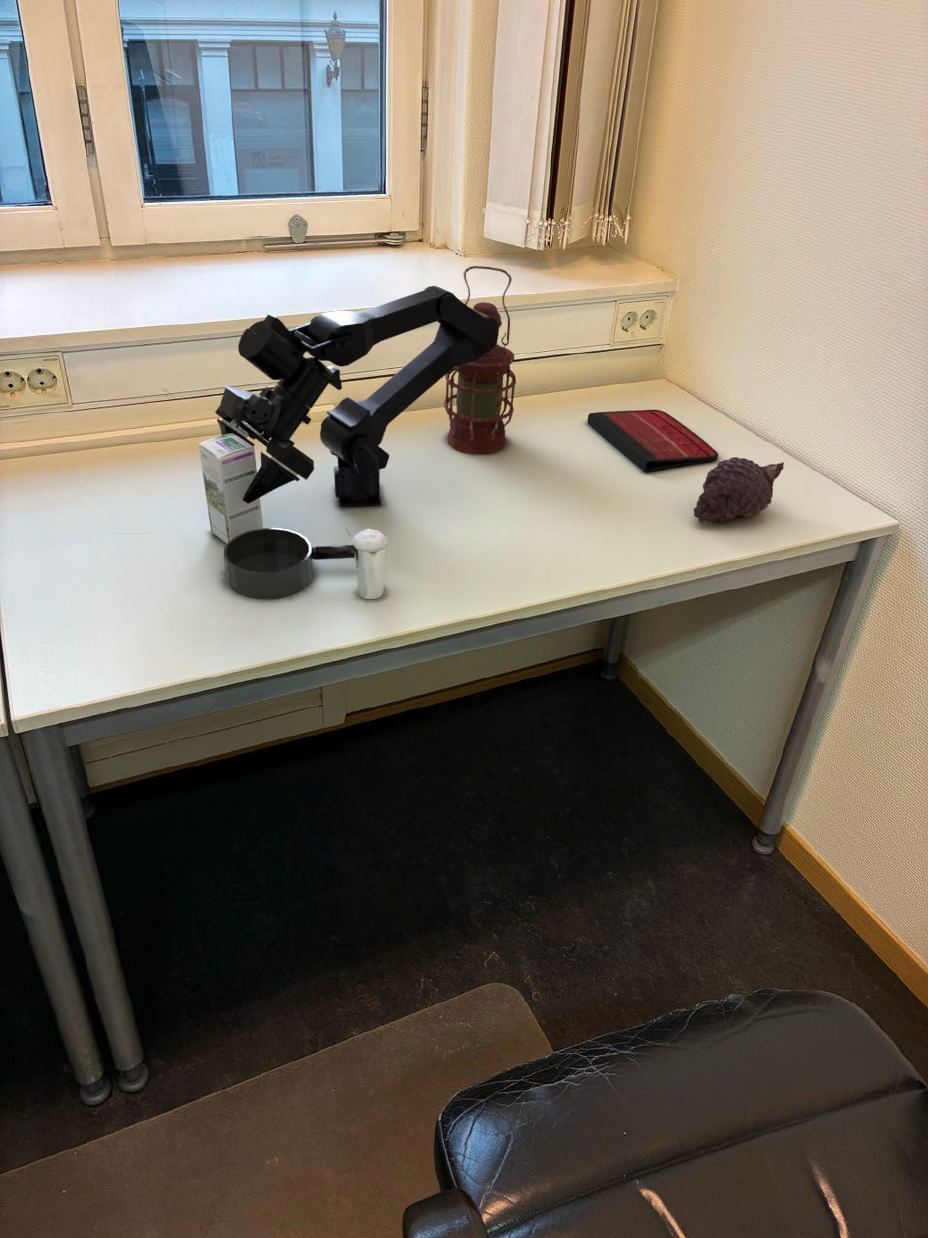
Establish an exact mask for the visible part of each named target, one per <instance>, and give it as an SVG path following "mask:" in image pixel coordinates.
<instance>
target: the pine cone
mask: <svg viewBox="0 0 928 1238" xmlns="http://www.w3.org/2000/svg"><path fill="white" fill-rule="evenodd" d="M784 466H785V463H784V461H782V462H779V463H770V464H767V465H764V466H760V465H759V464H758V463H756V462H754V460H752V459H747V458H745V457H743V458H741V457H737V456H735V457H734V456H733V457H730V458H729V459H723V460H722V461H718V463H717V464H716V466H715V467H714V468H713V469H711V470H709V471H707V473H706V477H705V481H704V482H703V484H702V490H703V492H702V493H701V494H699V496H698V500H697V501H696V506H695V507H694V508H693V516H694V518H697V519H698V522H699V523H703V522H706V523H715V522H717V521H719V522H725V521H727V520H732V519H735V518H736V517H737V516H740V515H741V516H743V518H746V519H749V518H750V517H751V516H757V515H759V514H760V513H761V512H762V511H763V510H766V509H767V508H768V507H769V505H770V504H772V502H773V501H772V499H773V494H774V483H775V480H776V479H778V478H779V477H780V475H781V472H782V471H783V470H784Z"/></svg>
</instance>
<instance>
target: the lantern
mask: <svg viewBox="0 0 928 1238" xmlns="http://www.w3.org/2000/svg"><path fill="white" fill-rule="evenodd" d="M473 269H474V270H475V269H480V270H491V271H496V272H501V273H503V274H505V275H506V276H507V277H508V283H507V285H506V288H505V290H504V292H503V294H502V298H501V302H502V307H503V308H504V312H505V314H506V317H507V328H506V329H507V330H506V332H504V335H503V336H502V338H501V339H500V342H501V345H500V344H498V343H497V344H496V346H495V347H494V348H493V349H492V351H490V352H489V353H487V354H486V355H484V356H483V357H481V358H479V359H478V360H476V361H474V362H470V363H466V364H463V365H459V366H456V367H454V368H453V369H452V370H450V371H449V372H448V373H447V374H446V375H445V376H444V379H445V381H446V382H445V383H446V386H445V399H444V401H443V407H444V409H445V412H446V414H447V415H448V419H449V426H450V427H449V431H448V434H447V437H446V440H447V443H448V444H449V446H450V447H452V448H453V449H456V450H457V451H459V452H462V453H465V454H474V455H475V454H476V455H488V454H493V453H497V452H498V451H501V450H503V449H504V448H505V446H506V444H507V439H506V427H507V426H508V424H509V423H510V422H511V420H512V419H513V415H514V412H515V409H514V395H515V394H514V393H515V388H516V384H517V379H516V375H515V373H514V371H513V370H511V365H512V364H513V362H514V361H515V353H514V352H513V351H511V349H508V348H506V346H508V345H509V344H510V343H509V342H510V334H511V333H510V331H511V317H510V314H509V312H508V310H507V307H506V305H505V296H506V293H507V291H508V289H509V288H510V286H511V284H512V279H513V278H512V275H511V274H510V273H509V272H508V271H507V270H505V269H502V268H499V267H491V266H483V265H482V266H481V265H472V266H469V267H468V268H466V269H465V270H464V272H463V280H464V282H465V285H466V287H467V293H468V295H467V299H466V301H465V303H464V304H465V305H467V306H468V303H469V301H470V297H471V290H470V286H469V283H468V280H467V273H468V272H469V271H470V270H473ZM472 309H474V310H476V311H478V312H481V313H483V314H485V315H487V316H490V317H492V318H493V319H495V320H496V322H497V324H498V328H499V329H500V328H501V326H502V325H503V321H502V317H501V314H500V313H499V312H498V308H497V305H495V304H494V303H491V302H486V301H484V302H483V301H482V302H477V303H476V304H474V305H473V307H472ZM505 337H506V342H504V339H505ZM502 345H503V346H502ZM457 373H458V375H457V383H455V375H456V374H457ZM505 375H506V376H505ZM450 376H451V377H450ZM504 376H505V377H506V380H505V381H506V382H505V386H504ZM510 378H511V382H510V384H509V381H510ZM454 388H455V389H456V393H455V394H454ZM449 389H450V394H449ZM510 389H511V395H510V399H508V398H509V396H508V392H509V390H510ZM503 392H505V393H504V394H505V395H504V396H503ZM449 395H450V396H449ZM454 399H455V405H456V412H454V410H453V405H454V404H453V403H454ZM502 405H503V410H502ZM508 406H509V409H508V411H507V413H506V410H507V407H508ZM501 410H502V412H501ZM506 418H508V420H506V422H504V419H506Z"/></svg>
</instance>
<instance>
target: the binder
mask: <svg viewBox="0 0 928 1238" xmlns="http://www.w3.org/2000/svg"><path fill="white" fill-rule="evenodd" d="M586 422H587V424H588V425H589V426H591V428H593V429H594V430H595V431H596V432H597V433H598V434H599V435H600V436H602V438H604V439H605V440H606V441H607V442H608V443H610V444H611V445H612V446H613V447H614V448H616V449H617V450H618V451H619V452H621V453H622V455H624V456H625V457H626V458H628V459H629V460H630V461H631V462H632V463H633V464H635V465H636V466H637V467H638V468H640V469H641V470H642V471H643V472H644V473H650V472H651V473H652V472H655V471H660V470H665V469H671V468H676V467H682V466H687V465H694V464H699V463H704V462H705V463H706V462H711V461H716V460H718V459H719V453H718V451H716V450H715V449H714V448H713V447H712V446H711V445H710V444H709V443H708V442H707V441H705V440H704V439H703V438H701V437H700V436H699V435H697V434H696V432H694V431H693V430H692V429H690V428H688V427H687V426H686V425H684V424H683V423H682V422H681V421H679V420H678V419H676V418H675V417H674V416H672V415H671V414H669V413H667V412H666V411H663V410H660V409H640V410H637V409H636V410H615V411H598V412H589V413H588V414H587V421H586Z"/></svg>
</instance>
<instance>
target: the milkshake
mask: <svg viewBox="0 0 928 1238" xmlns="http://www.w3.org/2000/svg"><path fill="white" fill-rule="evenodd" d="M345 531H346V533H347V535H348V536H349V538H350V540H351V542H352V545H353V549H354V556H355V558H354V564H355V573H356V583H357V593H358V594H359V596H360V597H361V598H364V599H365V600H376V599H378V598H381V597H382V595H383V594H384V587H385V575H386V563H387V554H388V546H389V545H388V544H389V540H388V537H387V536H386V535H385V534H384V533H383V532H381V531H380V530H377V529H371V528H366V529H364V530H362V531H359V532H358V533H356V534H355V535H354V536H353V537H352V536H351V534H350V532H349V530H348V528H347V527H345Z"/></svg>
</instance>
